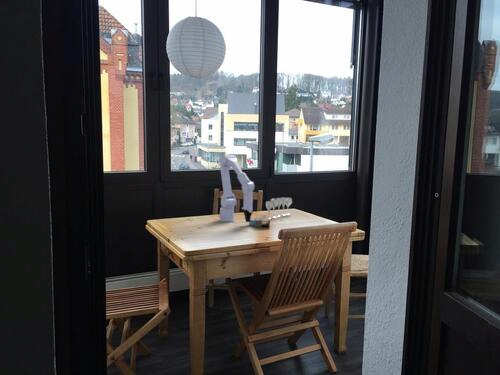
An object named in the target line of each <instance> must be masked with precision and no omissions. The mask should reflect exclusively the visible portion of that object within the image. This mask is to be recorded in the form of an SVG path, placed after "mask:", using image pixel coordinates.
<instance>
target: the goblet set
mask: <svg viewBox="0 0 500 375" xmlns="http://www.w3.org/2000/svg"><path fill="white" fill-rule="evenodd" d="M292 204H293V199H292V197H284V196H283V197H276V198H270V200H267V201H265V207H266V209H267V211H268V213H270V212H271V209H273V211H275V209H276V208H278V211H277V212H278V215H276V216H275V215H273V216H270V217H269V218H270V220H272V219H276V218H278V217H282V215H283V216H286V215H287V216H288V215H291V213H289V212H287V213H284V210H285V205H286V207H287V209H289V207H290V206H291V205H292ZM281 205H282V214H281V215H280V207H281Z"/></svg>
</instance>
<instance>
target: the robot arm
mask: <svg viewBox="0 0 500 375" xmlns="http://www.w3.org/2000/svg"><path fill="white" fill-rule="evenodd" d="M219 167H220V168H219V170H220V174H221V176H220V177H221V183H222V189H223V190H222V191H223V194H222V195H221V196H220V206H221V207H220V209H219V221H220V222H226V223H227V222H229V223H230V222H231V223H233V222H235V220H236V219H235V207H236V205H237V198H236V195H235V193H233V192H232V185H231V178H230V169H231V168H232V169H233V171H234V172H235V173H236V175H237V177H236V178H237V179H238V181H239V183H240V185H241V190H242V193H243V207H241V209H242V210H243V211H242V213H243V215H244V220H245V222H246V223H249V222H250V219H252V218H251V217H252V214H253V213H254V211H253V202H254V200H253V199H254V198H253V192H254V190H255V187H256V185H255V182H254V181H251V180H250V178H249V177H248V176H247V173H245V172H243V170H242V169H241V166H240V165H239V163H238V158H237V157H236V155H235V154H223V155H221V156H220V157H219Z"/></svg>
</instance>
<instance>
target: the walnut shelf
mask: <svg viewBox="0 0 500 375" xmlns="http://www.w3.org/2000/svg"><path fill="white" fill-rule="evenodd" d="M270 218H271V217H270V214H268V215H265V214H262V215H261V214H256V215H255V219H256V226H255V229H258V228H259V226H258V221H262V222H267V225H268V229H270V227H271V219H270Z"/></svg>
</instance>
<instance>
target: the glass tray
mask: <svg viewBox="0 0 500 375" xmlns="http://www.w3.org/2000/svg"><path fill="white" fill-rule="evenodd" d="M262 224H263V221H258V227H262V226H263V225H262ZM248 225H249V226H250V227H256V218H250V222H248Z"/></svg>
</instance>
